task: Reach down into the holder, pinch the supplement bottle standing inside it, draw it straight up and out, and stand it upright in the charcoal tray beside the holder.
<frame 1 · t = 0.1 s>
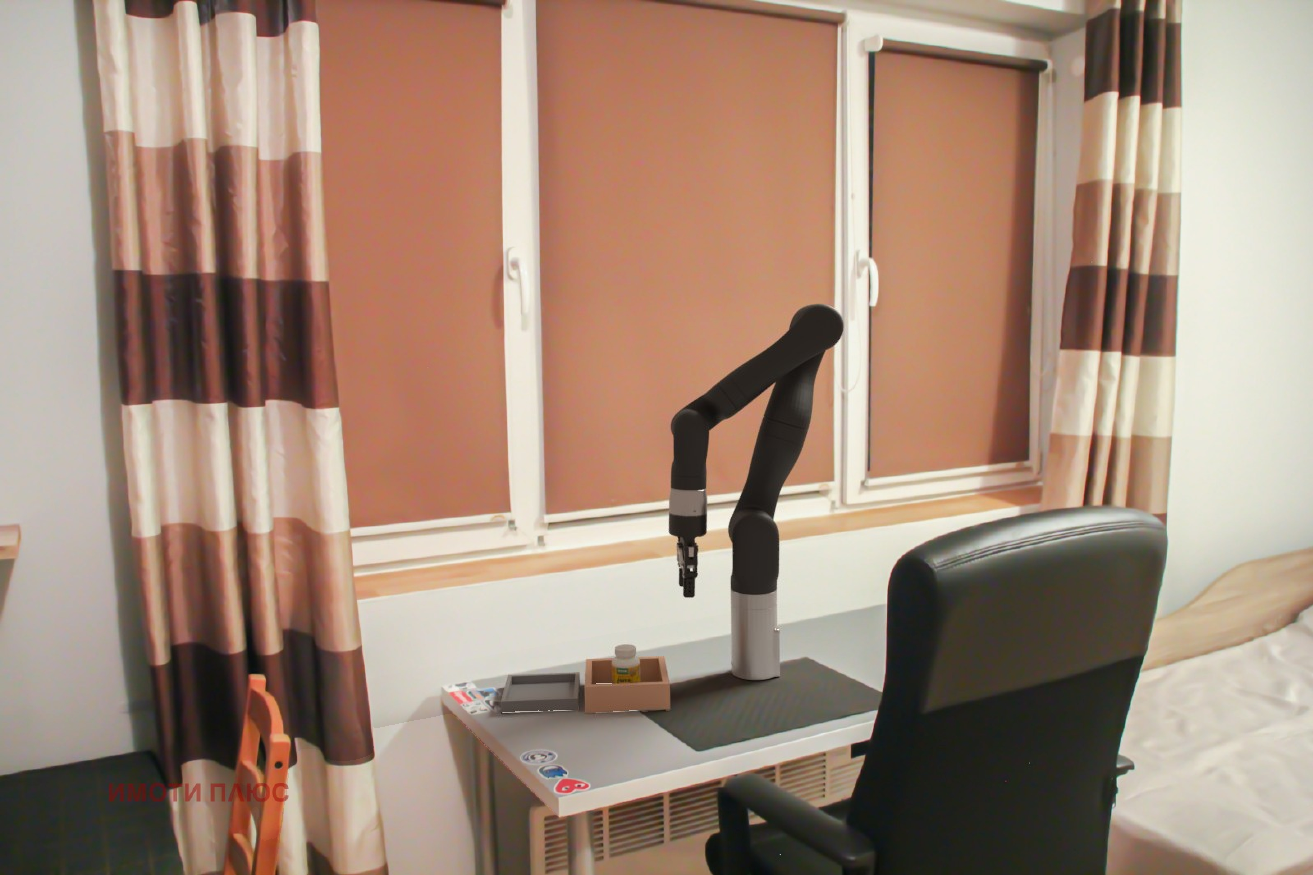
hand: (686, 591, 190), 17 cm above the table, tool pointing down, fingers open, 8 cm apart
holder: (626, 696, 181), on the table
supplement bottle: (626, 697, 181), resting in holder
tray: (542, 698, 181), on the table
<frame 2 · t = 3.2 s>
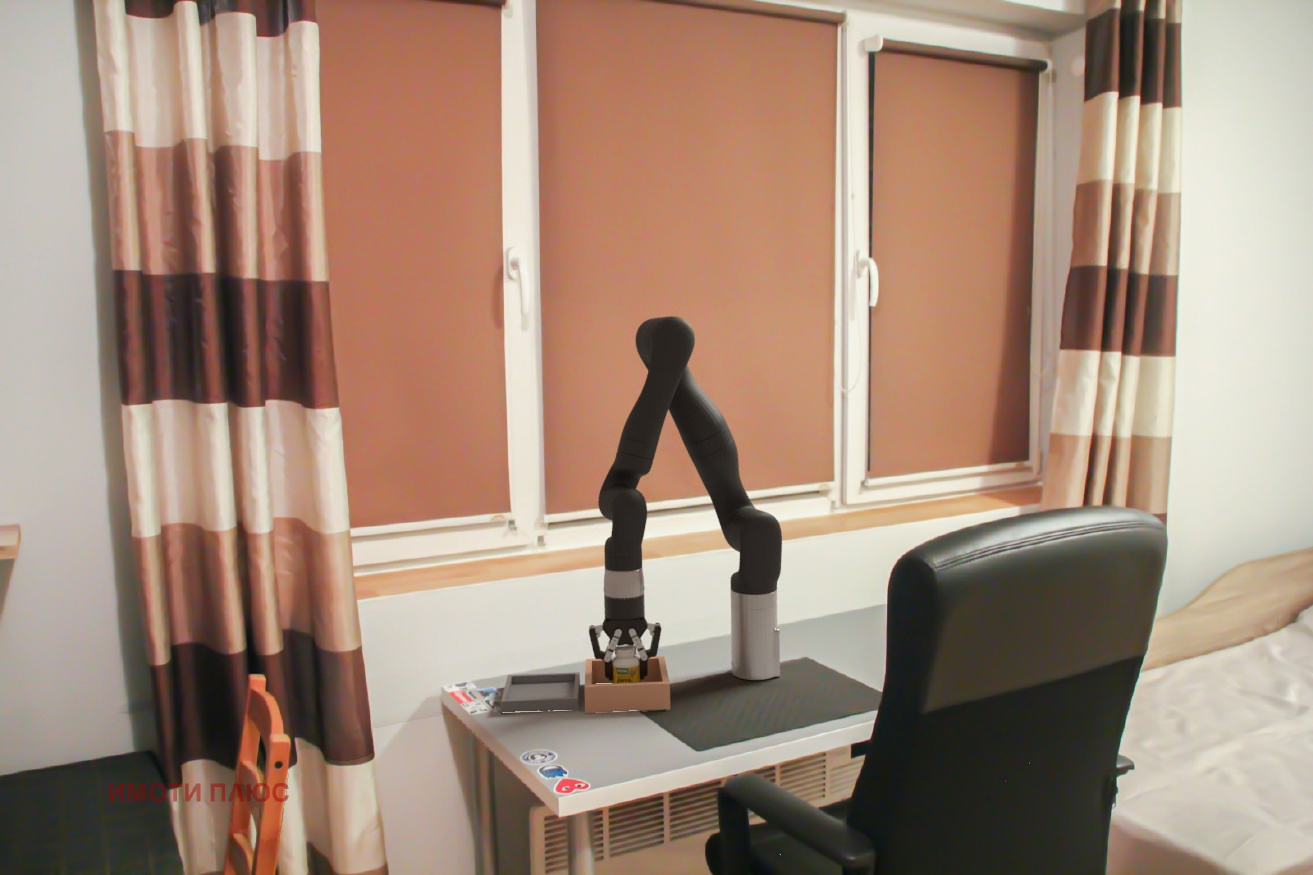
hand: (626, 678, 181), 4 cm above the table, tool pointing down, fingers closed on supplement bottle, 5 cm apart
supplement bottle: (626, 697, 181), resting in holder, touching gripper
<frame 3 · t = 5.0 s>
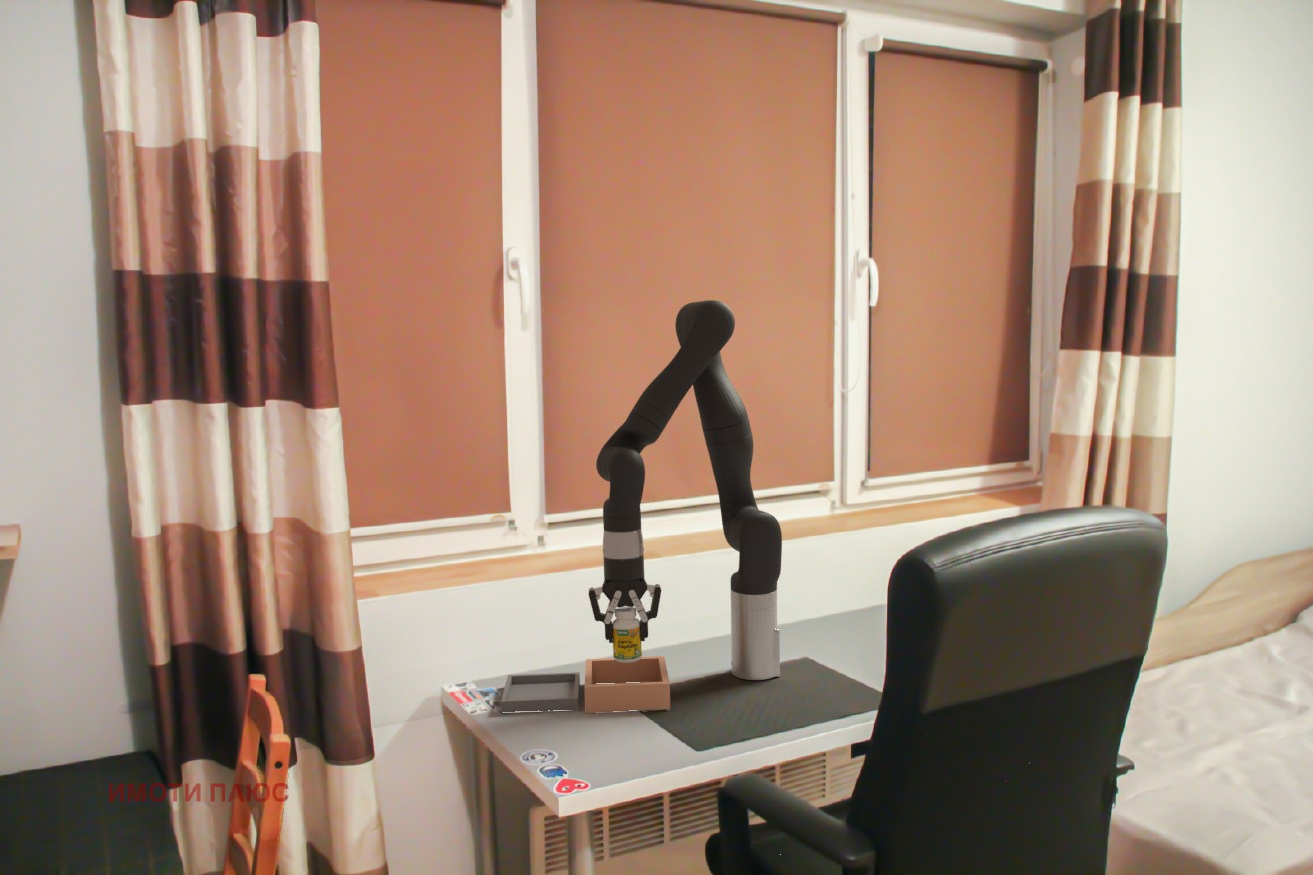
hand: (626, 640, 180), 11 cm above the table, tool pointing down, fingers closed on supplement bottle, 5 cm apart
supplement bottle: (627, 659, 180), point 7 cm above the table, touching gripper
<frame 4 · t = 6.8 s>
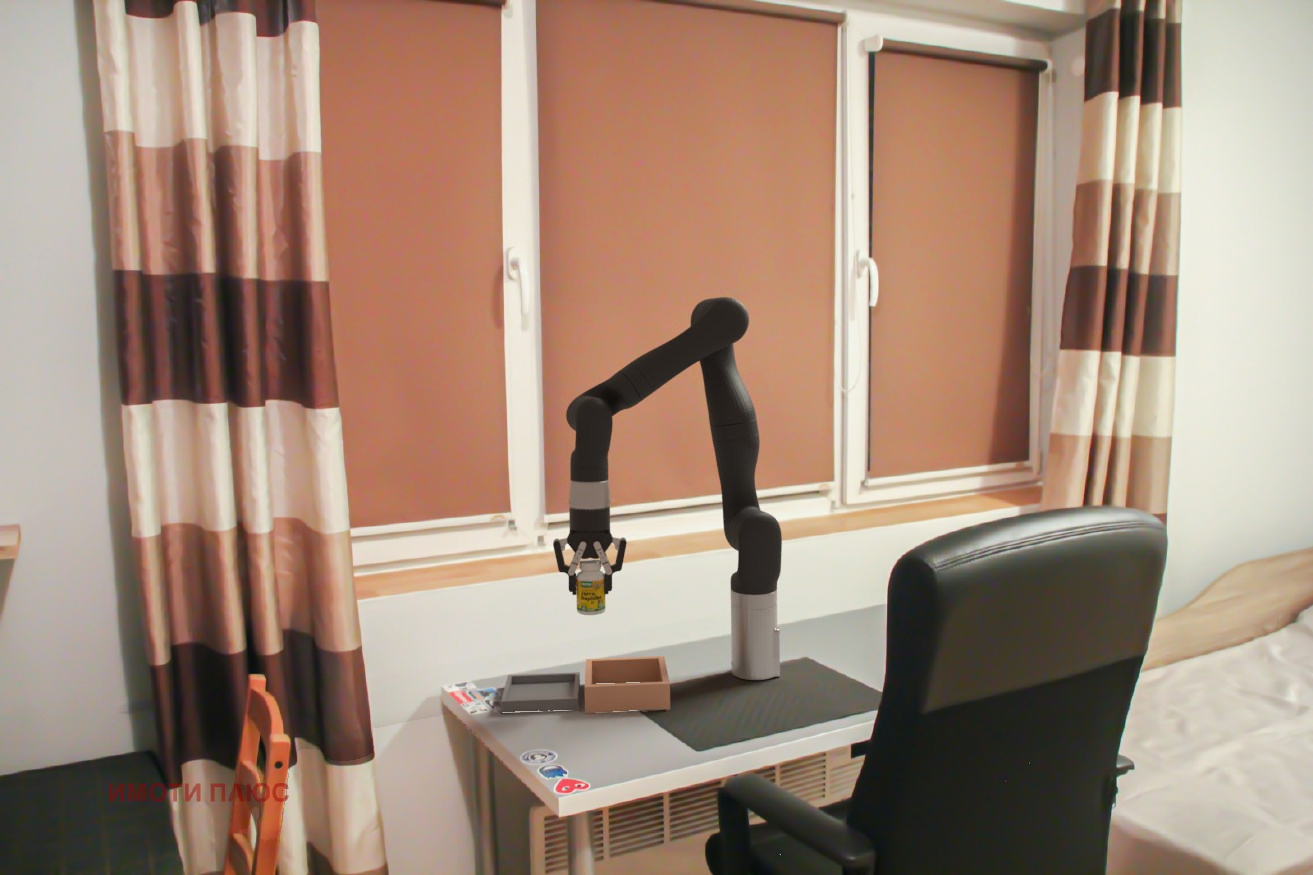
hand: (590, 593, 179), 20 cm above the table, tool pointing down, fingers closed on supplement bottle, 5 cm apart
supplement bottle: (590, 612, 179), point 16 cm above the table, touching gripper
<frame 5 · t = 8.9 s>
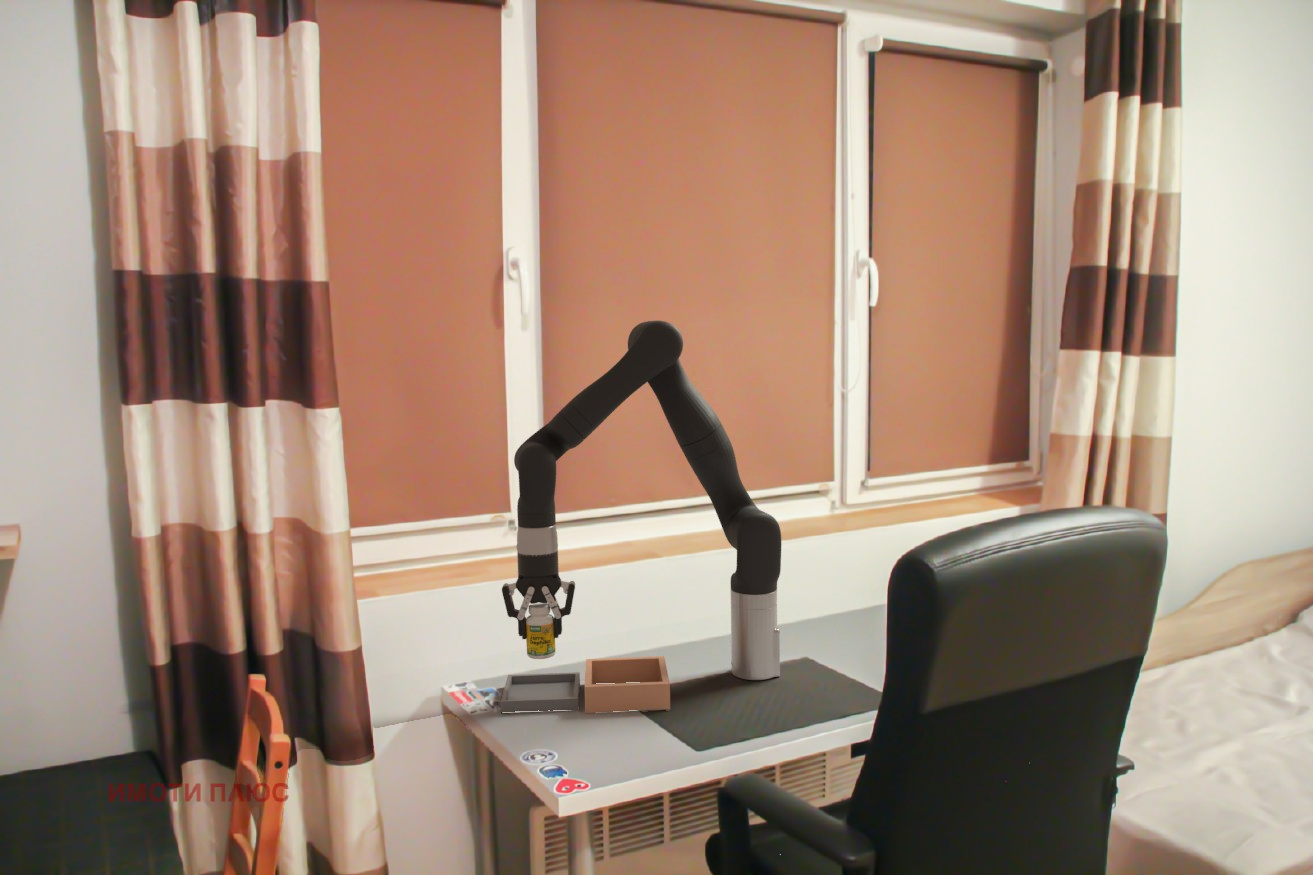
hand: (540, 637, 180), 12 cm above the table, tool pointing down, fingers closed on supplement bottle, 5 cm apart
supplement bottle: (541, 656, 180), point 8 cm above the table, touching gripper
when the fingers open (6 cm above the table, at t = 10.5 s): supplement bottle drops 1 cm, resting on tray.
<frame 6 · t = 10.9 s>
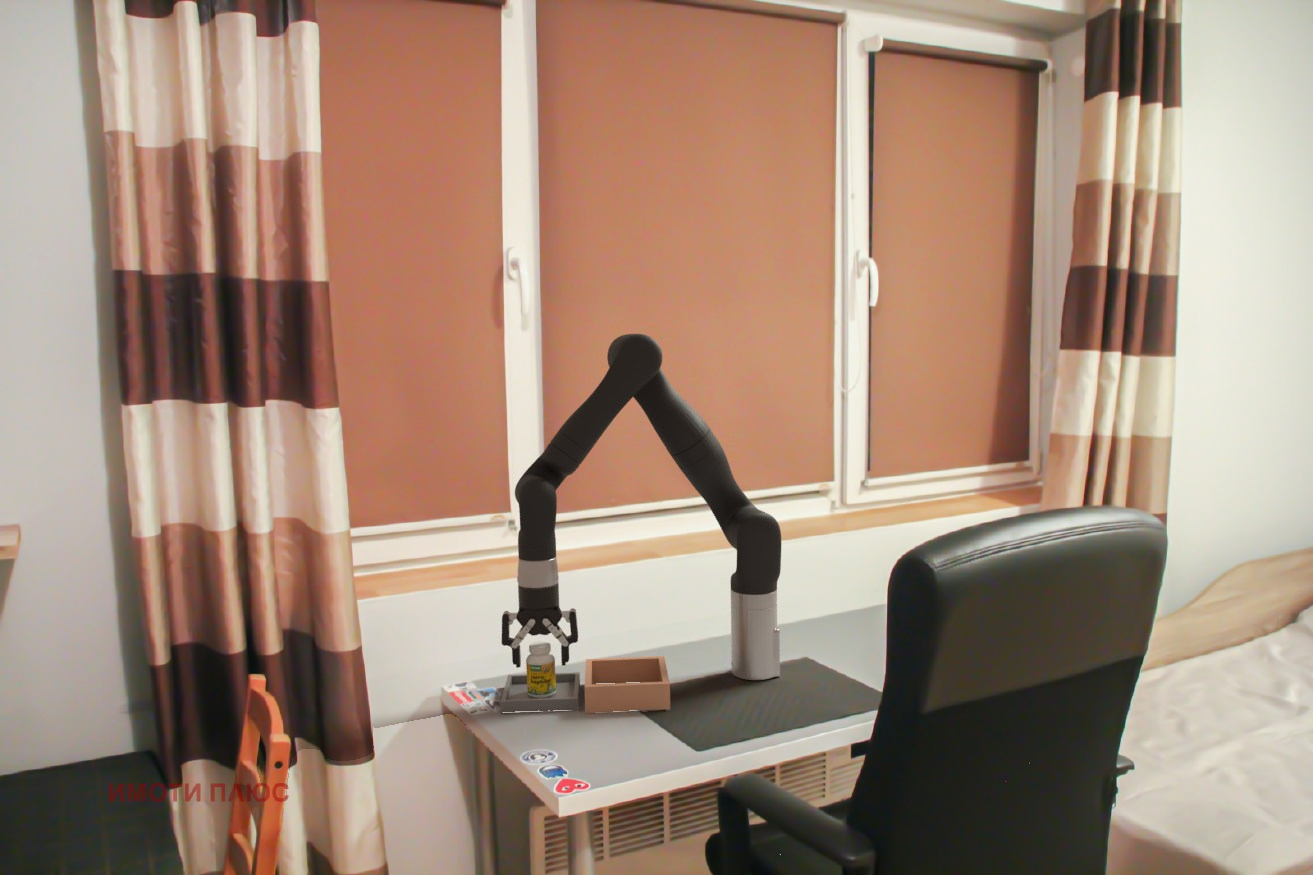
hand: (541, 665, 180), 6 cm above the table, tool pointing down, fingers open, 8 cm apart
supplement bottle: (541, 695, 181), point 1 cm above the table, touching tray
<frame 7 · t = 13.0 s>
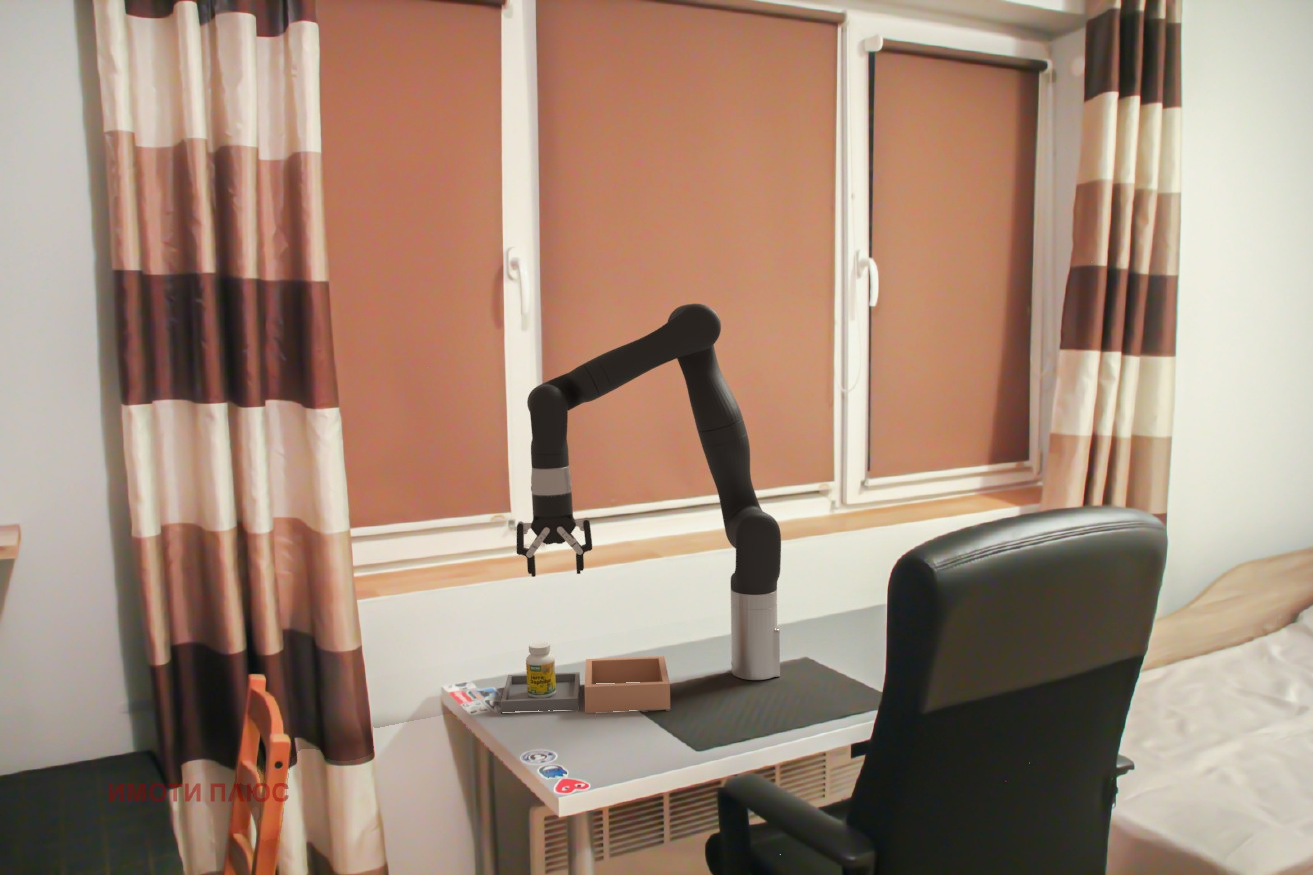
hand: (556, 574, 182), 23 cm above the table, tool pointing down, fingers open, 8 cm apart
nothing on the table moved.
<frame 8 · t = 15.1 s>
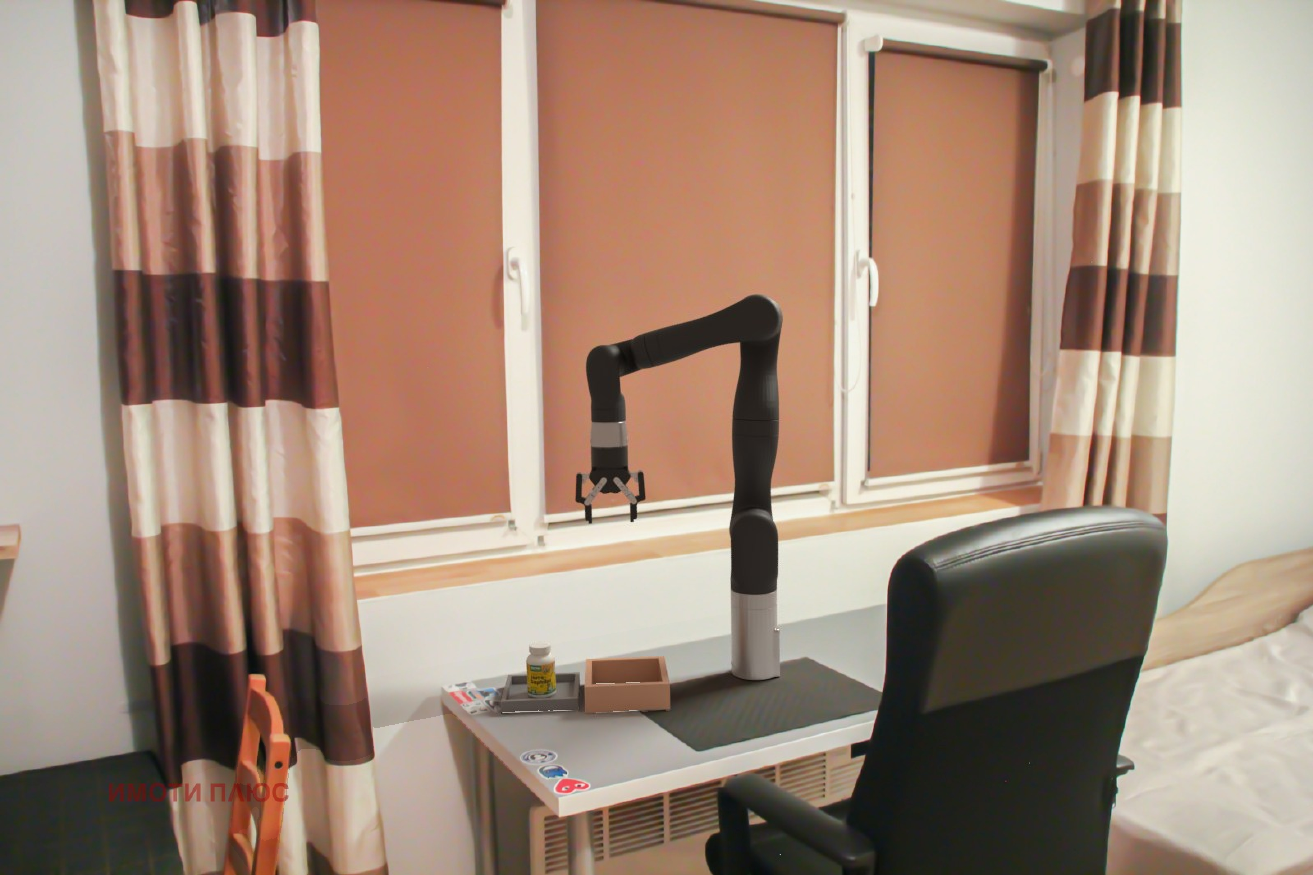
hand: (611, 522, 196), 30 cm above the table, tool pointing down, fingers open, 8 cm apart
nothing on the table moved.
at the end: supplement bottle inside the target area on the tray (0.1 cm from its centre), point 0.6 cm above the tray's base; supplement bottle tilted 0°; the gripper is holding nothing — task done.
